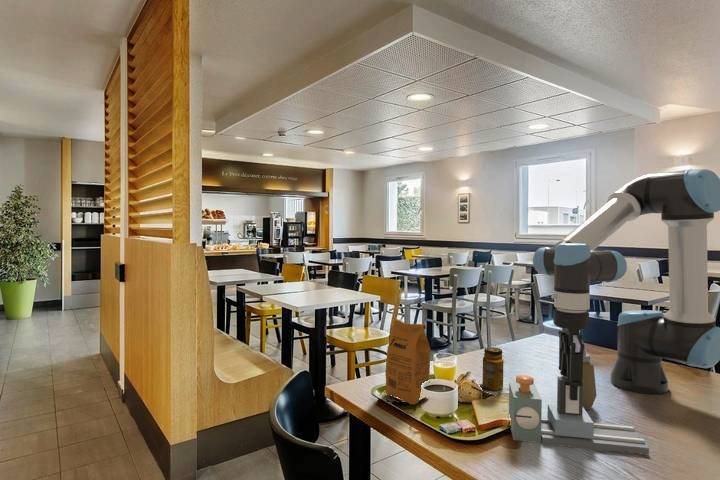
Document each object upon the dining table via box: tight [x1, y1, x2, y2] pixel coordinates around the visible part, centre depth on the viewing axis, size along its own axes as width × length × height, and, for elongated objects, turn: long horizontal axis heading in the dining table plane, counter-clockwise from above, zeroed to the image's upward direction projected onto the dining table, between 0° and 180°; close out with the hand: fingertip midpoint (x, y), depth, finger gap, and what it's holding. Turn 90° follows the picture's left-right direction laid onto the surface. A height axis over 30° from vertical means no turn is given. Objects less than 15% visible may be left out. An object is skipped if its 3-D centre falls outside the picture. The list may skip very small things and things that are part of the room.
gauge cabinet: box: [508, 381, 543, 444], centre depth 105 cm, size 6×10×10 cm, turn 167°
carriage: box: [546, 376, 595, 439], centre depth 103 cm, size 8×9×12 cm
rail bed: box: [541, 416, 650, 455], centre depth 103 cm, size 22×11×2 cm, turn 77°
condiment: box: [478, 346, 509, 395], centre depth 133 cm, size 7×8×12 cm
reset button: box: [515, 374, 535, 393], centre depth 105 cm, size 4×4×3 cm
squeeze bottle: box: [582, 340, 597, 411], centre depth 120 cm, size 8×8×18 cm
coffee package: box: [385, 318, 431, 406], centre depth 127 cm, size 10×12×22 cm
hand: (569, 407), depth 103 cm, fingers open, 4 cm apart
